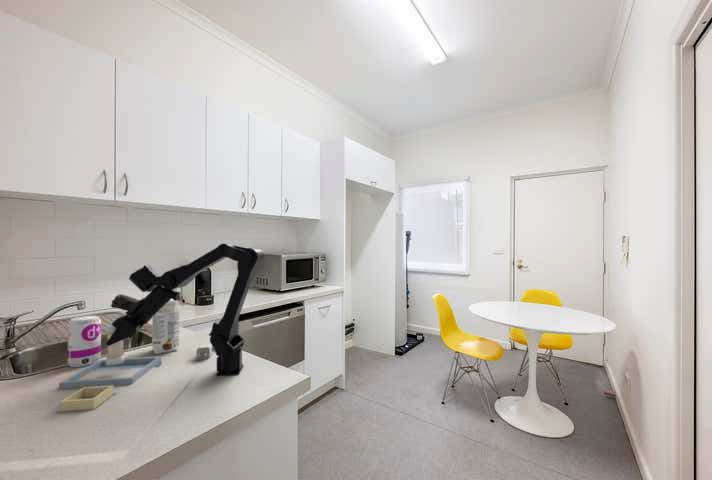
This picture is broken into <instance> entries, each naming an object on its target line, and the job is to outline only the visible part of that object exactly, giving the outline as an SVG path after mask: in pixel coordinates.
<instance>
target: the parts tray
mask: <svg viewBox="0 0 712 480" xmlns="http://www.w3.org/2000/svg"><path fill="white" fill-rule="evenodd" d="M161 365H162V356H147V357H146V356H145V357H130V358H126V357H125V361H124V362H123V363H120V364H116V365H106V359H99V361H98V362H96V363H94V364H91V365H88V366H86V368H84V369H82V370H80V371H77V372H76V373H74V374H72V375H71V376H69V377H67V378H65V379H63V380H62V381H60V382H58V389H59V390H60V389H61V390H62V389H73V388H76V389H77V388H83V387H97V386H112V385H114V386H119V385H133V384H134V383H136V382H137V381H138V380H139V379H141V378H142V377H143V376H145V375H146V374H147V373H149V372H150V371H151V370H153V369H155V368H159V367H160V366H161ZM131 369H132V370H133V369H140V370H138V371H137V372H136V373H134V374H132V375H131V376H125V377H124V376H122V377H121V376H120V377H109V378H107V377H106V378H92V379H82V378H84V377H85V376H87V375H88V374H90V373H92V372H96V371H97V372H99V371H101V372H102V371H116V370H131Z"/></svg>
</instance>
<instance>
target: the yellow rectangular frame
mask: <svg viewBox="0 0 712 480" xmlns="http://www.w3.org/2000/svg"><path fill="white" fill-rule="evenodd" d="M114 386H115V385H107V386H92V387H80V389H78V390H77V391H75V392H73V393H72V394H70V395H69V396H67V397H65V398H64V399H62V400H61V401H59V410H58V411H55V414H63V413H73V412H74V413H77V412H87V411H95V410H97V409H98V408H100V406H102V405H103V404H105V403H106V402H107V401H108V400H110V399H112V397H114V396H115V395H116V394H117V392H114V390H115V389H114Z"/></svg>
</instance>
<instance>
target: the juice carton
mask: <svg viewBox="0 0 712 480" xmlns="http://www.w3.org/2000/svg"><path fill="white" fill-rule="evenodd" d="M151 320H152V321H151V323H152V325H151V328H152V329H151V338H152V339H151V340H152V341H151V342H152V343H151V344H152V345H151V346H152V349H153V351H154V355H159V354H163V353H169V352H175V350H176V351H177V350H178V348H179V344H180V303H179V301H176V300H173V299H171V300H170V301H169V302H168V303H166V304H165V305H164V306H163V307H162V308H161V309H160V310H159V311H158V312H157V313H156V314H155V315H154V316H153V317H152V319H151Z"/></svg>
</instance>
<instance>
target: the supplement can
mask: <svg viewBox="0 0 712 480" xmlns="http://www.w3.org/2000/svg"><path fill="white" fill-rule="evenodd" d="M101 343H102V320H101V318H100V317H99V315H94V314H93V315H84V316H83V315H82V316H78V317H74V318H71V319H70V321H69V322H68V324H67V365H68V364H69V365H68V366H69V367H71V368H81V367H88V366H91V365H92V364H94V363H96V362H98V361H100V360H102V354H101V353H102V347H101V346H102V345H101Z"/></svg>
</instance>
